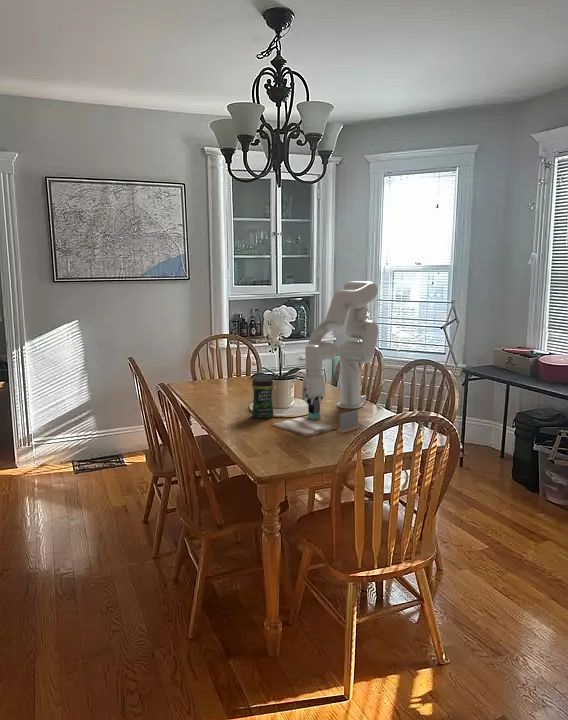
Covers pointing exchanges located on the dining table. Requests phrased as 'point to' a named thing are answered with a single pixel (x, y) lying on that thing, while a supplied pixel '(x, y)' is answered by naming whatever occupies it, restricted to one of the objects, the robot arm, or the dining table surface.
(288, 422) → the white flat pad
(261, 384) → the coffee jar
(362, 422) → the dining table surface
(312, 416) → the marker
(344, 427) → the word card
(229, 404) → the dining table surface
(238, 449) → the dining table surface
